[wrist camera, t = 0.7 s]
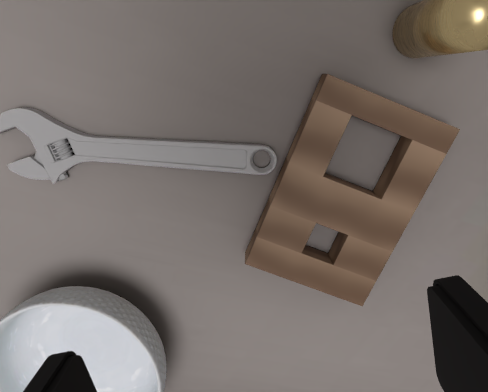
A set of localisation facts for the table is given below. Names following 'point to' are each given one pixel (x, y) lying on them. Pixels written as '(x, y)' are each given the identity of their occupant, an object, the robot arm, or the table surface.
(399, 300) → the table surface
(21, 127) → the adjustable wrench
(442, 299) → the robot arm
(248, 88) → the table surface
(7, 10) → the table surface
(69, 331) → the cereal bowl
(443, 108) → the table surface
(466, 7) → the brass peg
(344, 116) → the socket board
